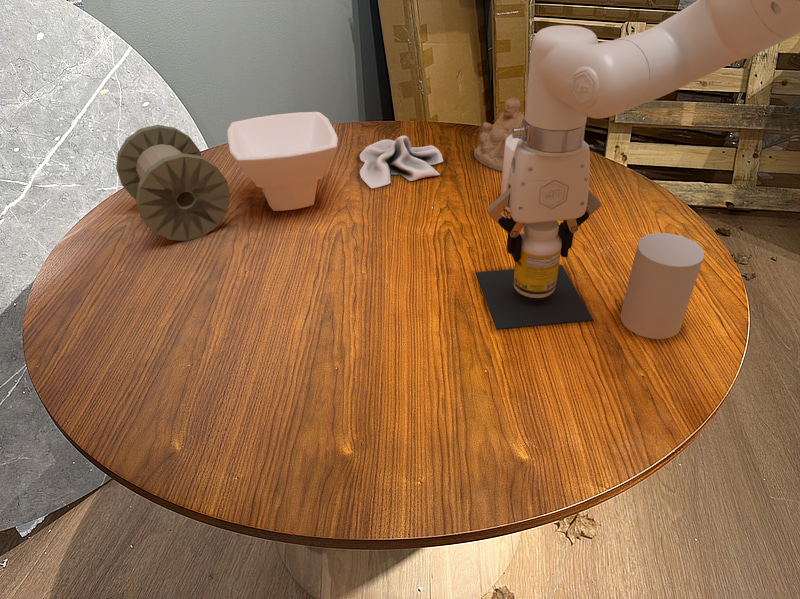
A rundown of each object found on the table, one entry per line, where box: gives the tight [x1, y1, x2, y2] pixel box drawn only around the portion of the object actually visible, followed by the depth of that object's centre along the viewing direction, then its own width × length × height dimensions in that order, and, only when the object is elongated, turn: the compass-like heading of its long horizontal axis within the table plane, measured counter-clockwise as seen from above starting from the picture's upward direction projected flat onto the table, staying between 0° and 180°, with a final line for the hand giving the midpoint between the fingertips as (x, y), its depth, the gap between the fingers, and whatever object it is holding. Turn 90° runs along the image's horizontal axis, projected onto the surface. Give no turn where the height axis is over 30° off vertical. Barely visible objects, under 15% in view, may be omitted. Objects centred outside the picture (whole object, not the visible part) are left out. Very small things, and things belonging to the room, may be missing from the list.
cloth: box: [359, 135, 444, 190], centre depth 128 cm, size 22×19×6 cm
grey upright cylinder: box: [620, 232, 705, 340], centre depth 84 cm, size 8×8×12 cm
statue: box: [473, 97, 525, 172], centre depth 129 cm, size 12×14×10 cm
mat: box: [475, 264, 594, 330], centre depth 93 cm, size 14×14×1 cm
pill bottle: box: [513, 221, 562, 298], centre depth 88 cm, size 6×6×11 cm
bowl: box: [226, 111, 339, 212], centre depth 114 cm, size 19×19×14 cm
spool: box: [115, 124, 231, 242], centre depth 110 cm, size 16×15×15 cm
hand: (538, 253), depth 88 cm, fingers closed on pill bottle, 6 cm apart
